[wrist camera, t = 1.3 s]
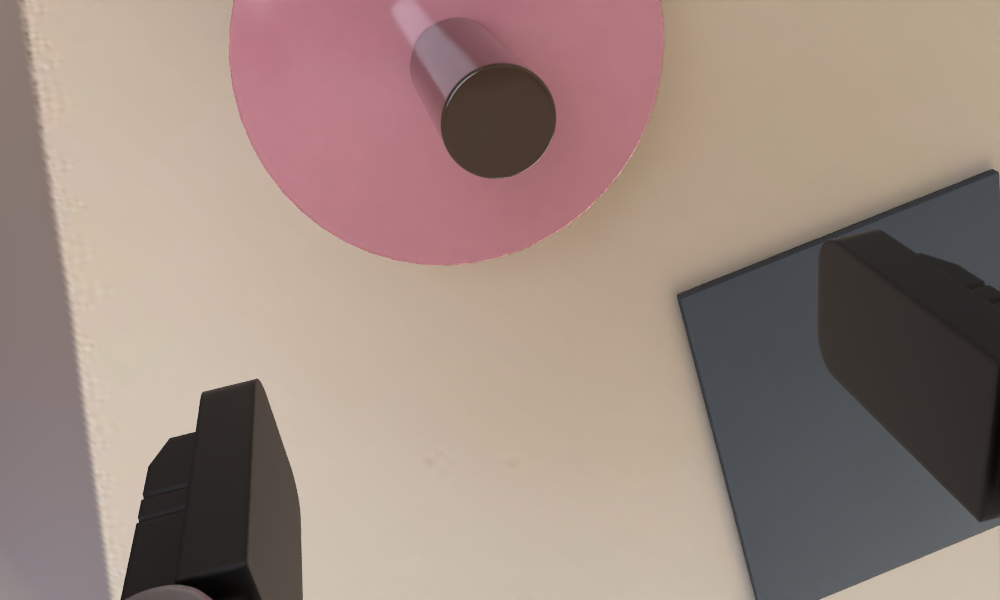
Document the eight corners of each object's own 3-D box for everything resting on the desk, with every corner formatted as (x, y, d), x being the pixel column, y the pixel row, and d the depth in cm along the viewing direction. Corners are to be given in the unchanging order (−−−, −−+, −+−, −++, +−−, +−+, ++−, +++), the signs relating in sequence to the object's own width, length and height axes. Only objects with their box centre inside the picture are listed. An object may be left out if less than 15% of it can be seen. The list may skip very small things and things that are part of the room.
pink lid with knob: (148, -84, 21) (101, -54, 16) (589, -250, 22) (696, -278, 16) (336, 304, 27) (350, 429, 21) (686, 166, 27) (792, 253, 21)
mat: (676, 295, 37) (680, 299, 37) (992, 168, 38) (999, 172, 37) (760, 617, 47) (763, 622, 47) (1010, 513, 47) (1016, 518, 47)
